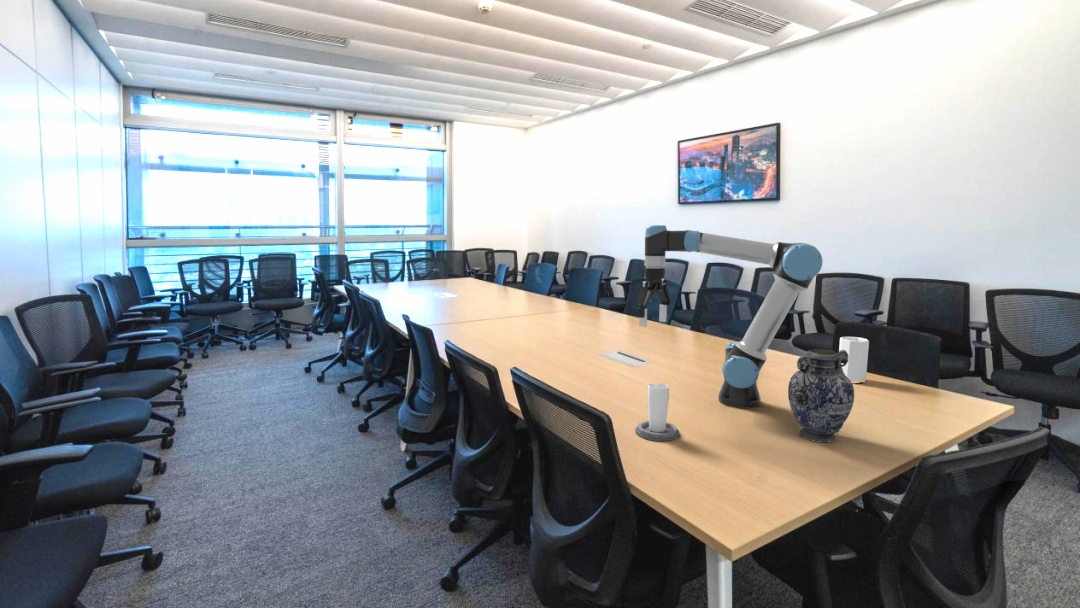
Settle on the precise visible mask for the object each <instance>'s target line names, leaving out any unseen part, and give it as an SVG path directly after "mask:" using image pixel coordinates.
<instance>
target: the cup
mask: <svg viewBox="0 0 1080 608" xmlns="http://www.w3.org/2000/svg"><path fill="white" fill-rule="evenodd" d="M838 346H839V347H838V349H839V350H838V352H839V351H840V350H844V351H847V354H848V362H847V364H846V365H845V366H843V367H842V369H843V372H844V374H845V376H846V377H847V378H848V379H849V380H850V381H865V380H867V372H868V371H867V370H868V359H869V358H868V357H869V348H870V341H869V340H868V339H867V338H864V337H857V336H841V337H840V338H839V345H838ZM841 365H843V364H842V363H841Z"/></svg>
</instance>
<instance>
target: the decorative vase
mask: <svg viewBox="0 0 1080 608" xmlns="http://www.w3.org/2000/svg"><path fill="white" fill-rule="evenodd" d="M847 362H848V354H847V351H844V350H840V351H839V350H838V352H837V351H836V350H832V349H826V348H825V349H824V348H812V349H811V348H810V349H809V350H808V352H806V353H805V355H802V356H800V357H798V359H797V361H796V367H797V369H798V370H797V371H796V372H794V373H793V375H792V376H791V377H790V379H789V382H788V388H787V393H788V394H787V397H788V402H789V403H788V404H789V406H790V410H791V412H792V415H793V417H794V418H795V420H796V421H797V423H798V424H799V425H800V426H802V428H800V430H799V432H798V435H799V436H800V435H801V436H800V437H802V438H803V437H804V438H803V439H805V438H807V439H806V440H808V439H810V440H809V441H811V440H815V441H814V442H816V441H821V442H820V443H825V442H826V443H829V442H828V441H833V442H835V441H836V440H837V436H836V434H838V433H839V432H840V430H841V429H842V427H843V426H844V423H845V422H846V420H848V418H849V416H850V414H851V412H852V409H853V406H854V402H855V401H854V400H855V389H854V385H853V383H851V381H850V380H849V379H848V378H847V377H846V376H845V374H844V372H843V369H842V367H843V366H845V365H846V364H847ZM841 363H842V364H843V365H841ZM835 439H836V440H835ZM834 440H835V441H834Z"/></svg>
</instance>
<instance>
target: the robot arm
mask: <svg viewBox="0 0 1080 608" xmlns="http://www.w3.org/2000/svg"><path fill="white" fill-rule="evenodd" d="M644 234H645V236H644V264H643V265H644V269H643V271H644V272H643V277H644V278H645V279H646V281H643V280H642V281H641V282H640V288H639V292H638V296H637V299H636V302H635V308H636V309H639V310H638V311H639V314H638V315H639V318H638V320H639V322H638V323H639V327H644V328H647V327H648V324H647V323H648V308H647V306H648V304H649V301H650V299H651V297H652V295H654V294H656V296H657V298H658V299H659V302H660V304H659V310H658V313H659V316H658V317H659V319H658V321H659V322H662V323H667V316H668V315H667V312H668V307H667V306H670V304H671V301H672V299H671V297H670V292H669V289H668V285H667V284H668V282H667V279H666V277H665V276H666V268H664V267H666V252H682V253H683V252H686V253H687V252H688V253H691V252H692V253H693V252H694V253H701V254H707V255H711V256H716V257H718V256H719V257H723V258H729V259H735V260H740V261H741V260H742V261H745V262H753V263H758V264H763V265H768V266H770V268H771V269H775V270H774V272H773V277H774V281H773V283H772V286H771V287H770V289H769V291H768V293H767V295H766V296H765V298H764V299H763V302H762V304H761V306H760V307H759V309H758V310H757V312H756V314H755V316H754V318H753V320H752V322H751V323H750V325H749V327H748V329H747V330H746V332H745V334H744V336H743V337H742V340H741V341H738V342H737V341H736V342H727V343H726V345H725V350H724V351H725V355H724V362H723V365H722V369H721V370H722V375H723V377H724V378H723V379H724V380H723V383H722V385H721V388H720V390H719V393H718V402H719V403H721V404H723V405H725V406H728V407H732V408H740V409H752V408H758V407H759V406H760V405H761V400H762V399H761V396H760V392H759V388H758V383H757V382H758V379H759V376H760V372H761V370H762V368H763V366H764V364H765V363H766V361H767V355H766V352H767V349H768V348H769V346H770V345H771V343H772V341H773V339H774V337H775V336H776V334H777V333H778V330H779V329H780V327H781V325H782V323H783V322H784V320H785V318H786V317H787V315H788V313H789V311H790V309H791V308H792V306H793V304H794V302H795V301H796V299H797V298H798V295H799V294H800V293H801V292H803V291H806V290H808V288H809V287H810V284H811V283H812V281H813V279H814V278H815V277H816V276H817V275H818V274H819V273H820V271H821V270H822V267H823V257H822V254H821V252H820V251H819V249H818V248H817V247H815V246H813V245H812V244H809V243H805V242H797V243H796V242H795V243H794V242H793V243H791V242H780V241H777V242H775V243H769V242H763V241H758V240H750V239H743V238H737V237H731V236H725V235H719V234H713V233H712V234H711V233H706V232H700V231H699V230H693V229H692V230H690V229H685V230H668V229H667V225H664V224H662V225H661V224H658V225H657V224H655V225H654V224H653V225H651V224H650V225H647V226H645V233H644ZM664 278H665V279H664Z"/></svg>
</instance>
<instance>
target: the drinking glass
mask: <svg viewBox="0 0 1080 608" xmlns="http://www.w3.org/2000/svg"><path fill="white" fill-rule="evenodd" d="M669 400H670V385H668V384H665V383H660V382H654V383H649V384H648V385H647V408H648V421H649V429H650V431H652V432H656V433H662V432H664V431H665V430H666V422H667V417H668V409H669Z"/></svg>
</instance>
